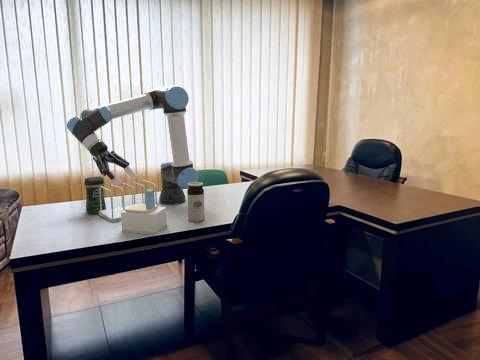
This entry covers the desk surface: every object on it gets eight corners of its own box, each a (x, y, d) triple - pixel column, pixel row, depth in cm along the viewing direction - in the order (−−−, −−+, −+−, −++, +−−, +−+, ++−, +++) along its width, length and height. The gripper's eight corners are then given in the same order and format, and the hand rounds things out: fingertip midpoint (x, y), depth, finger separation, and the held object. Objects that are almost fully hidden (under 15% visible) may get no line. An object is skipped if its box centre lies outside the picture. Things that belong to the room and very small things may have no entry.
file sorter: (111, 223, 179) (109, 191, 176) (98, 214, 192) (96, 185, 189) (159, 213, 195) (157, 183, 192) (144, 206, 208) (142, 178, 205)
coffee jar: (89, 215, 192) (86, 179, 188) (84, 211, 198) (81, 176, 194) (108, 211, 197) (105, 177, 194) (103, 208, 203) (100, 174, 200)
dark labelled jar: (188, 217, 187) (187, 182, 183) (204, 216, 188) (203, 181, 184) (187, 222, 179) (186, 185, 176) (204, 221, 180) (203, 185, 176)
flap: (125, 211, 165) (123, 191, 163) (136, 205, 174) (135, 186, 172) (148, 212, 162) (146, 193, 160) (158, 206, 172) (157, 188, 170)
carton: (121, 232, 166) (120, 212, 164) (135, 223, 177) (134, 205, 176) (155, 234, 162) (154, 214, 160) (167, 226, 174) (166, 207, 172)
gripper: (106, 148, 180) (136, 180, 180) (72, 155, 157) (106, 192, 156) (115, 137, 178) (146, 170, 178) (82, 143, 154) (117, 180, 154)
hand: (127, 180), depth 167 cm, fingers open, 13 cm apart
